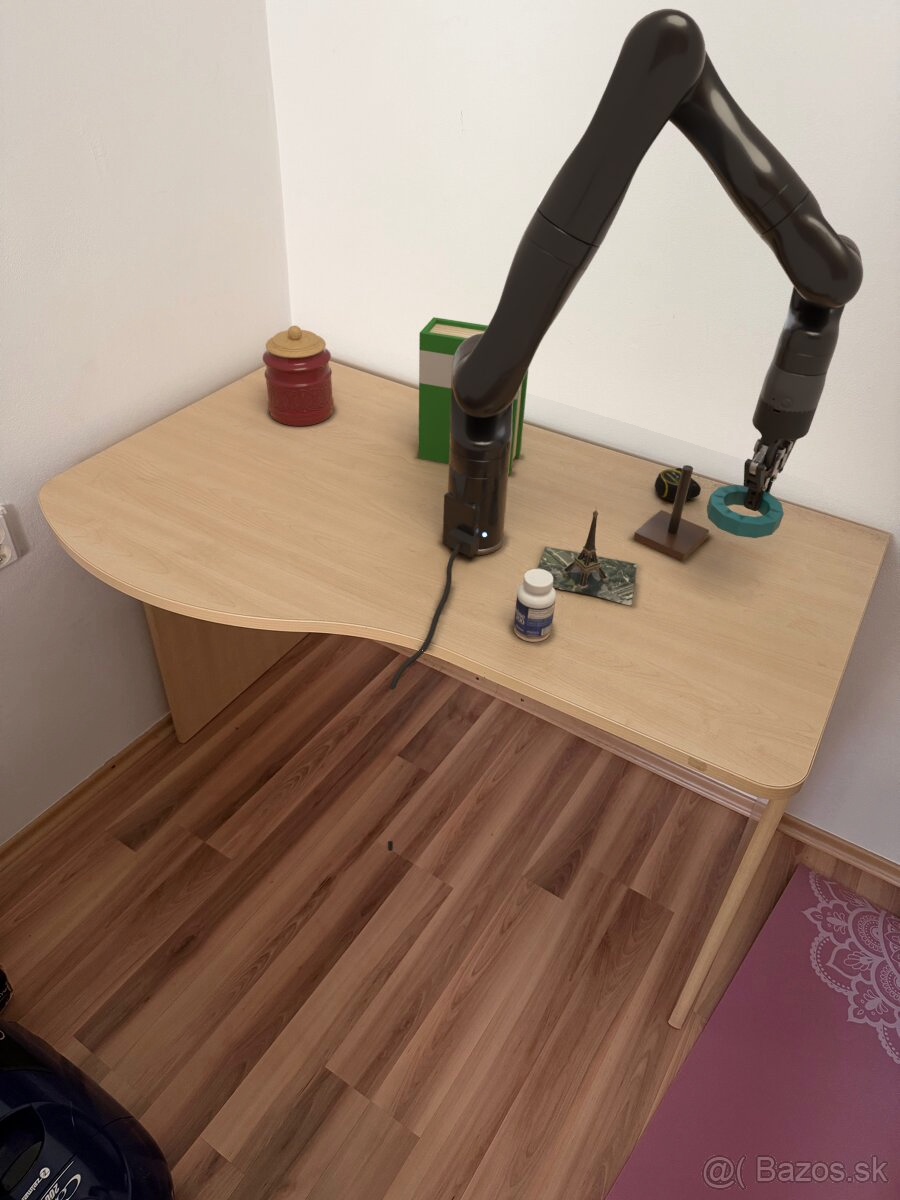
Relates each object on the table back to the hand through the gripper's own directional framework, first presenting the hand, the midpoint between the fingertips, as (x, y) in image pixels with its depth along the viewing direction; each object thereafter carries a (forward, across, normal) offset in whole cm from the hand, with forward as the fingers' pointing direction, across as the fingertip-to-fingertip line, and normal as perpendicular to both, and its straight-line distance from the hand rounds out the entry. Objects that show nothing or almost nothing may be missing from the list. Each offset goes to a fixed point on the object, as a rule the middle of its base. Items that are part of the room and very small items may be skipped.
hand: (754, 504), depth 123 cm
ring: (0, +4, 0) cm, 4 cm away
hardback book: (+14, 0, -53) cm, 55 cm away
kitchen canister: (+14, +9, -89) cm, 90 cm away
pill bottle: (+13, +32, -16) cm, 38 cm away
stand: (+13, -2, -12) cm, 18 cm away
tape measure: (+13, -15, -18) cm, 27 cm away
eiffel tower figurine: (+13, +16, -17) cm, 27 cm away
